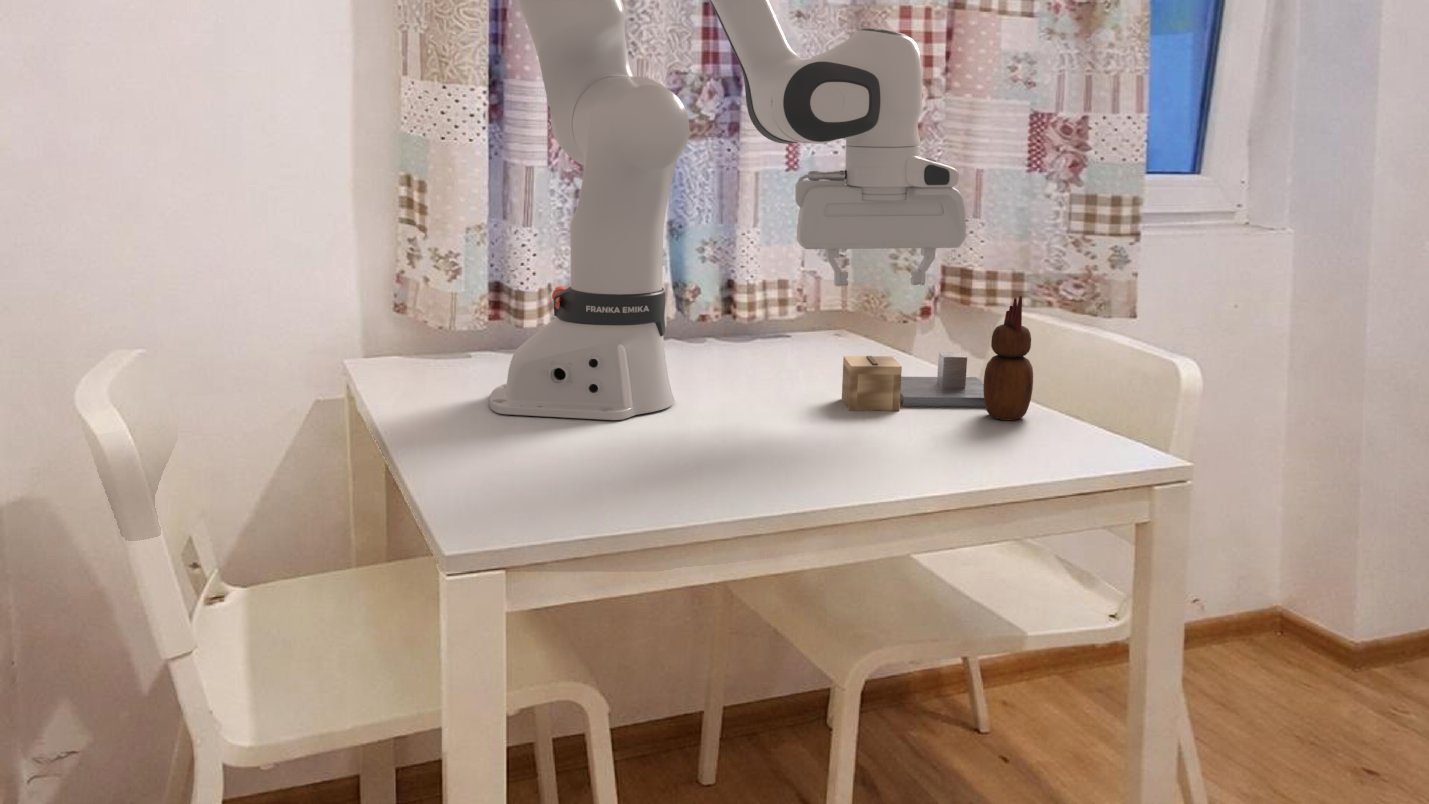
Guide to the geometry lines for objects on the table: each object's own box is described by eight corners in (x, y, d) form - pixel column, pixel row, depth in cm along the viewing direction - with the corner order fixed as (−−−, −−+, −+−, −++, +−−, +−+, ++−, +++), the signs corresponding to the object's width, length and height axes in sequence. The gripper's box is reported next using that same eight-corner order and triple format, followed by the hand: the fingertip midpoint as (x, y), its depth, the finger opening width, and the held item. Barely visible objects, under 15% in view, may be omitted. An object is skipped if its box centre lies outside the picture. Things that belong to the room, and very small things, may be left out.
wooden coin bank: (849, 410, 161) (851, 364, 160) (841, 398, 167) (843, 354, 166) (899, 410, 161) (901, 364, 160) (890, 399, 167) (892, 354, 166)
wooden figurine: (1031, 425, 155) (1040, 299, 152) (981, 422, 156) (989, 296, 153) (1029, 412, 162) (1038, 290, 158) (981, 409, 163) (989, 288, 159)
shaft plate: (903, 406, 163) (905, 365, 162) (886, 385, 175) (888, 346, 174) (998, 407, 164) (1001, 366, 163) (975, 386, 176) (977, 347, 174)
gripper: (798, 172, 154) (797, 290, 157) (972, 171, 155) (967, 288, 158) (792, 169, 160) (791, 282, 163) (959, 168, 161) (955, 280, 164)
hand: (879, 285), depth 161 cm, fingers open, 8 cm apart
